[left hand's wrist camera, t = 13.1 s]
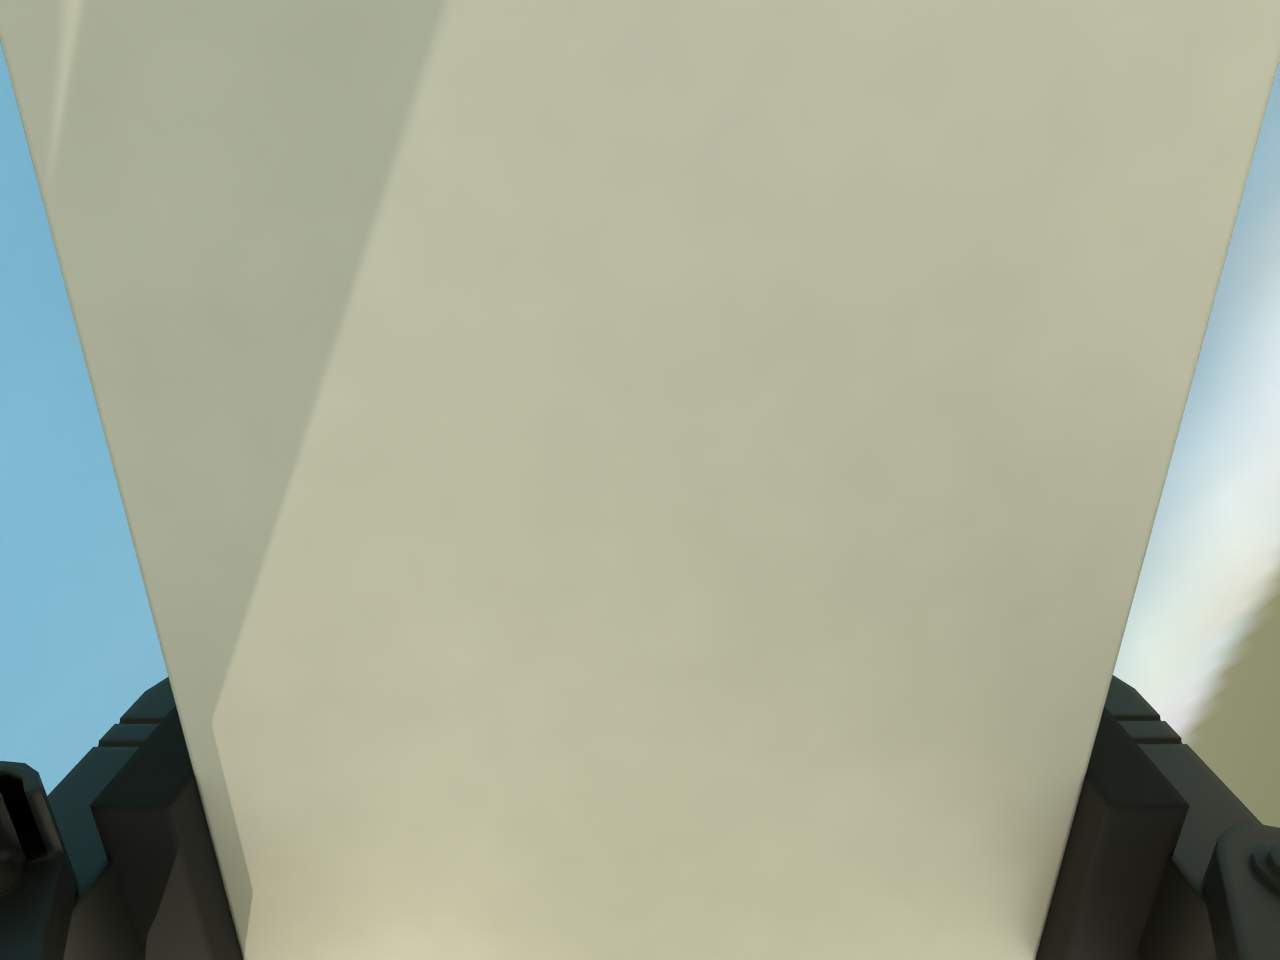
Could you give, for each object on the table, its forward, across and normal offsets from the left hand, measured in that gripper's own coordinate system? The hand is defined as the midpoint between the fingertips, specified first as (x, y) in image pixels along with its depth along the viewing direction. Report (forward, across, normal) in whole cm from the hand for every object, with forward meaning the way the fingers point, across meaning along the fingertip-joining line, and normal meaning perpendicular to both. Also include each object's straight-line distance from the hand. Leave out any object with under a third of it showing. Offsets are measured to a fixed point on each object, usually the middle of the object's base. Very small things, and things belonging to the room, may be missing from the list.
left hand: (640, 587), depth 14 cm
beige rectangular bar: (+1, 0, -29) cm, 29 cm away
